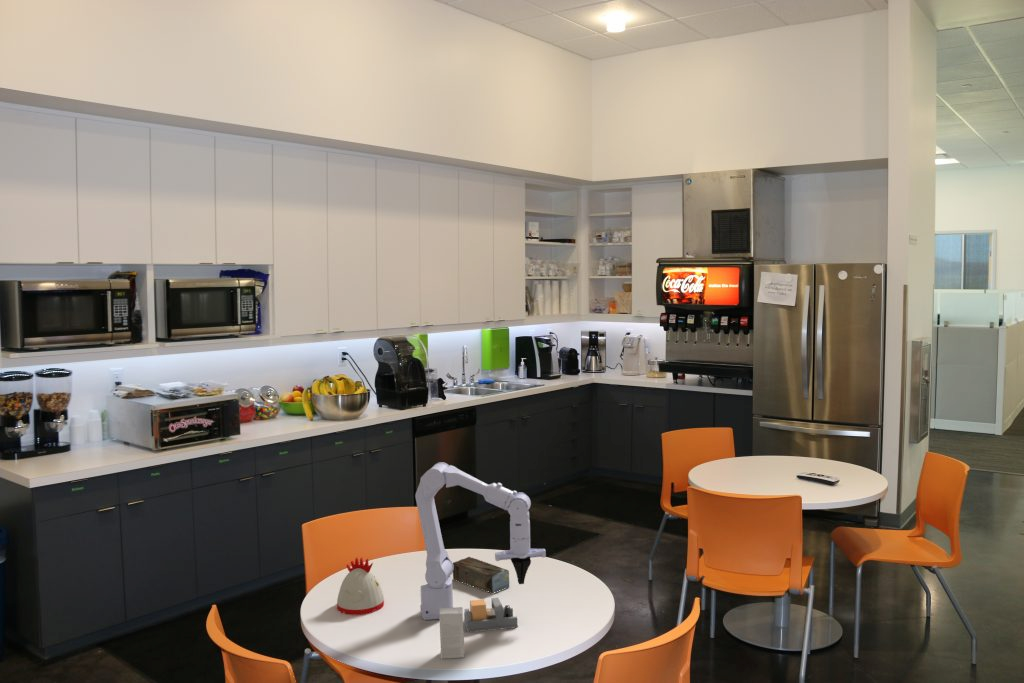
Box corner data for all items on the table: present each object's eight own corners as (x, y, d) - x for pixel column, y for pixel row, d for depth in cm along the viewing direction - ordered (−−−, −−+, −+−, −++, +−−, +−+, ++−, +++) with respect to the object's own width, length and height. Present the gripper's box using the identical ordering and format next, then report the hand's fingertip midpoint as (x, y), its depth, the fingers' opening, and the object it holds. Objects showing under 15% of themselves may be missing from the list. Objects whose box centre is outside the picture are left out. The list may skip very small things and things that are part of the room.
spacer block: (472, 626, 236) (471, 605, 236) (470, 621, 240) (469, 600, 240) (486, 625, 237) (486, 604, 237) (484, 619, 241) (483, 599, 240)
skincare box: (464, 650, 222) (463, 606, 222) (464, 658, 218) (462, 613, 217) (441, 651, 222) (439, 607, 221) (440, 659, 218) (439, 614, 217)
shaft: (486, 622, 237) (486, 610, 237) (484, 617, 241) (484, 605, 240) (510, 620, 238) (510, 608, 238) (508, 615, 242) (508, 603, 242)
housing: (468, 632, 234) (467, 611, 234) (464, 620, 242) (463, 600, 241) (517, 627, 237) (517, 606, 236) (512, 616, 245) (511, 595, 244)
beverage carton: (492, 595, 262) (491, 574, 261) (451, 580, 275) (450, 561, 275) (510, 588, 267) (509, 567, 267) (469, 574, 281) (468, 555, 280)
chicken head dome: (373, 616, 247) (372, 566, 246) (330, 613, 250) (328, 564, 248) (390, 598, 260) (388, 551, 259) (348, 596, 263) (346, 549, 262)
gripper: (497, 542, 236) (498, 590, 237) (547, 538, 239) (548, 585, 240) (493, 535, 243) (494, 581, 244) (542, 531, 246) (543, 577, 247)
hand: (520, 582), depth 242 cm, fingers closed
